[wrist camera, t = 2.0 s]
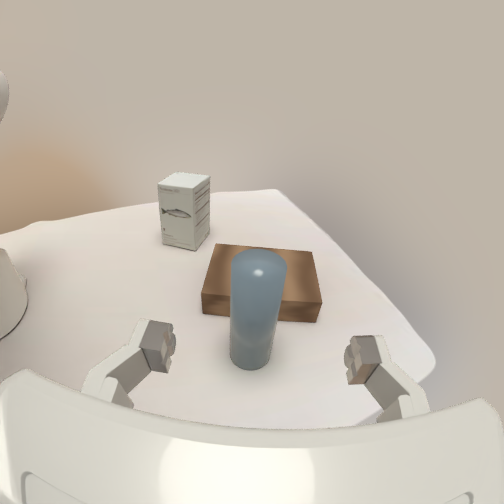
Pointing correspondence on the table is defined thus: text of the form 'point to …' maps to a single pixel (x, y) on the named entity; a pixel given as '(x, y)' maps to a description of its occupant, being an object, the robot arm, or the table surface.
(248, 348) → the slate cylinder
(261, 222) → the table surface
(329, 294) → the table surface
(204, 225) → the supplement box
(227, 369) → the table surface
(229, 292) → the plate
